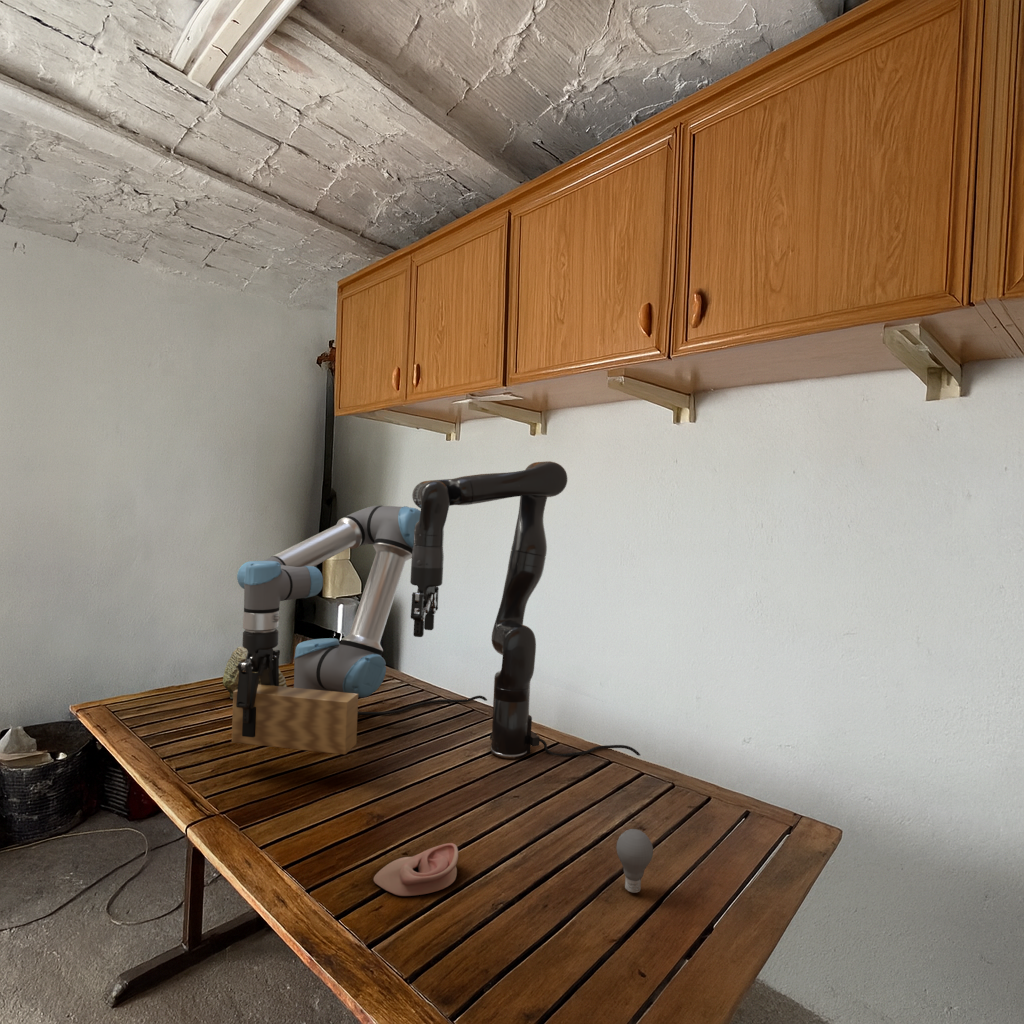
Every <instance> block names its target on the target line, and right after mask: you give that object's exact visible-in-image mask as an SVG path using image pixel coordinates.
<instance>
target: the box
mask: <svg viewBox="0 0 1024 1024" xmlns="http://www.w3.org/2000/svg"><path fill="white" fill-rule="evenodd" d="M237 690H238V689H237ZM237 690H235V691H233V698H232V718H231V721H232V722H231V743H235V744H236V743H237V744H245V745H254V746H262V747H273V748H282V749H291V750H300V751H307V752H308V751H310V752H318V753H328V754H336V755H347V754H348V753H349V751H350V750H352V749H353V748H354V747H355V746H356V745H357V741H358V739H357V738H358V716H359V715H358V712H359V710H358V709H359V697H358V694H356V693H345V692H335V691H324V690H313V689H303V688H294V687H291V686H287V687H281V686H270V685H260V684H258V688H257V693H256V698H255V703H254V707H256V728H255V737H245V736H242V724H243V721H242V720H243V709H242V708H238V707H236V703H237Z"/></svg>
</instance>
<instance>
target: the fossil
mask: <svg viewBox="0 0 1024 1024" xmlns="http://www.w3.org/2000/svg"><path fill="white" fill-rule="evenodd" d="M247 653H248V651H247V649H246V648H244V647H243V646H238V647H237V648H236V649H235V650H233V651H232V653H231V656H230V657H229V659H228V660H227V663H226V666H225V668H224V671H223V675H222V676H223V677H222V685H223V687H224V688H225V690H226V691H228V693H229V698H230V699H233V691H235V690H237V689H238V678H239V670H238V664H239V662H245V661H246V657H247ZM252 673H258V672H252ZM258 684H260V685H261V681H260V678H259V683H258ZM279 686H281V687H288V686H287V680H286V678H285V676H284V674H283V673H282V672H281V669H279Z"/></svg>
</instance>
